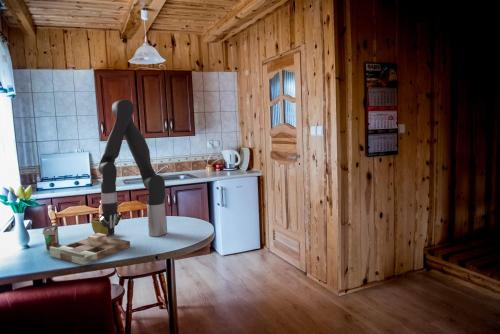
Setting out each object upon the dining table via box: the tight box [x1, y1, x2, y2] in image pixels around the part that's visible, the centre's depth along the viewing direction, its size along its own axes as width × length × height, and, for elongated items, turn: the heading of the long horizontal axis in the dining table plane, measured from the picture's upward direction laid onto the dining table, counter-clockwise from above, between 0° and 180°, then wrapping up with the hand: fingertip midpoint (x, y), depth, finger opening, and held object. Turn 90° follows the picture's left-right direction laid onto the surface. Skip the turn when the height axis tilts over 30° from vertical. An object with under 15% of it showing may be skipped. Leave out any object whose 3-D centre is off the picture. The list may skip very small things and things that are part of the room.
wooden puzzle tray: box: [49, 236, 131, 266], centre depth 177 cm, size 26×25×4 cm
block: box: [87, 233, 107, 246], centre depth 180 cm, size 6×6×4 cm
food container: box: [41, 224, 60, 251], centre depth 185 cm, size 12×6×10 cm, turn 21°
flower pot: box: [90, 217, 110, 237], centre depth 204 cm, size 9×9×9 cm
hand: (111, 234), depth 187 cm, fingers closed
